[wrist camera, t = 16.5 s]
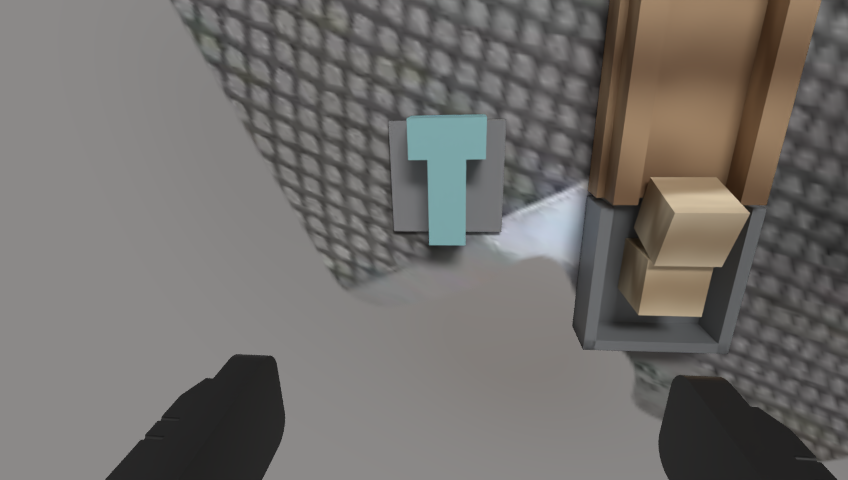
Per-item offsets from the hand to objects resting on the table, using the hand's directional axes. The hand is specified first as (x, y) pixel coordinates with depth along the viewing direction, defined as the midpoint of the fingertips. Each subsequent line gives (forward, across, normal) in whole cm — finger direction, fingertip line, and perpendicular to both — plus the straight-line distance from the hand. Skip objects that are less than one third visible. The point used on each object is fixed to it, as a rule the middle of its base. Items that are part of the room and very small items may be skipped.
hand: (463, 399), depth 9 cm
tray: (+23, -14, +7) cm, 28 cm away
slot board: (+23, -14, -7) cm, 28 cm away
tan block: (+23, -14, +7) cm, 27 cm away
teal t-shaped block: (+22, +1, -4) cm, 22 cm away
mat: (+23, +1, 0) cm, 23 cm away
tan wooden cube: (+21, -14, +2) cm, 26 cm away
